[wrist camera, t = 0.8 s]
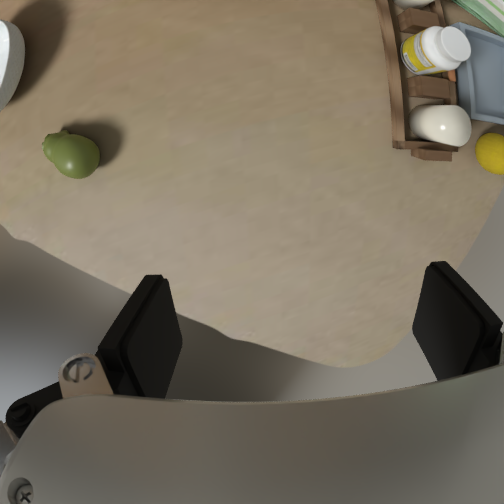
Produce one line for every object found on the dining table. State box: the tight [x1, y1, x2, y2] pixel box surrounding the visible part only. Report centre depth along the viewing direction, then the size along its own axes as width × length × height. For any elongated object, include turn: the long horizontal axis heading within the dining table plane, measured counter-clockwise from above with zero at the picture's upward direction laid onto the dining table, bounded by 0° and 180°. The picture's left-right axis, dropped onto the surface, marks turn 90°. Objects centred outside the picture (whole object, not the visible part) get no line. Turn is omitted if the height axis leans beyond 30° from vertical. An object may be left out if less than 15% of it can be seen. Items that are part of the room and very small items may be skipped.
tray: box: [450, 22, 504, 125], centre depth 26 cm, size 14×12×3 cm
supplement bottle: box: [400, 26, 471, 76], centre depth 24 cm, size 5×5×10 cm
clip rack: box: [375, 0, 458, 161], centre depth 26 cm, size 27×9×4 cm, turn 6°
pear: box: [42, 130, 100, 179], centre depth 33 cm, size 6×5×10 cm
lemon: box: [475, 133, 504, 175], centre depth 28 cm, size 6×6×8 cm
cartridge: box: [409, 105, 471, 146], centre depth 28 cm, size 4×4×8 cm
